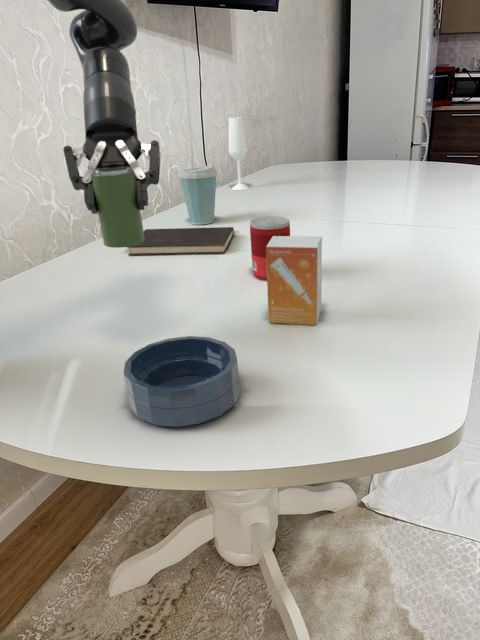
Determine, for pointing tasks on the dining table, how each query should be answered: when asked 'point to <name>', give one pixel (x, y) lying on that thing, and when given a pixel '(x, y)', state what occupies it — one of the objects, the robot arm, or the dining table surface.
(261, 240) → the canned food
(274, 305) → the small box
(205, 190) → the disposable coffee cup
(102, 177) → the slim can
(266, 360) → the dining table surface
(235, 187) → the champagne flute
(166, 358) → the bowl
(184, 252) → the hardcover book
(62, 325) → the dining table surface
